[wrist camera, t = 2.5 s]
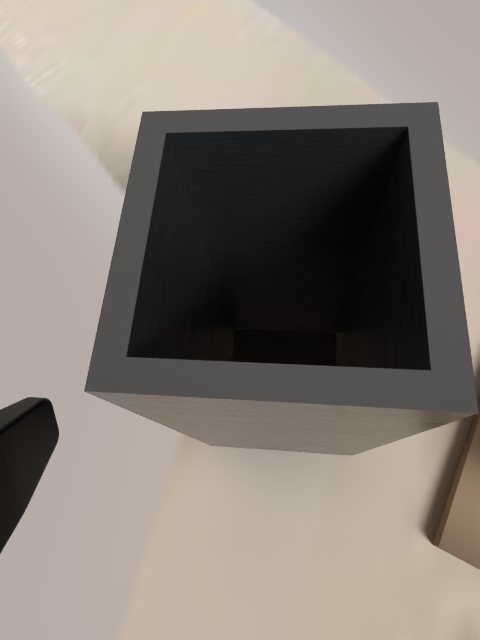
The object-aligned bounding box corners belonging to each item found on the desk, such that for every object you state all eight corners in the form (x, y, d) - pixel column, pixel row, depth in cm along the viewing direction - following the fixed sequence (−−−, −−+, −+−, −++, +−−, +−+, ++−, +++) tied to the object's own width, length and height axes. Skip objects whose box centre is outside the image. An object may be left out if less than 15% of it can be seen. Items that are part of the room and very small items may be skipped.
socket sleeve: (352, 455, 17) (478, 413, 6) (210, 445, 18) (84, 391, 7) (349, 320, 19) (437, 102, 8) (222, 316, 20) (142, 112, 9)
